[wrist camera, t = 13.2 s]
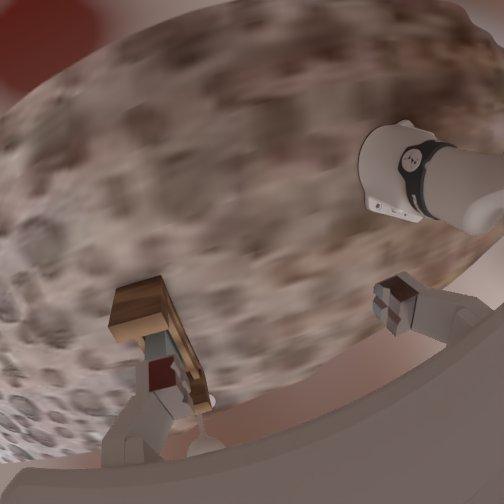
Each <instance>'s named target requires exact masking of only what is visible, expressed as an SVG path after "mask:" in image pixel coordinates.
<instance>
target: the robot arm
mask: <svg viewBox="0 0 504 504" xmlns="http://www.w3.org/2000/svg"><path fill="white" fill-rule="evenodd" d="M359 176H360V180H361V183H362V186H363V188H364V191H365V205H366V208H367V209H368V210H370V211H374V212H378V213H382V214H385V215H389V216H393V217H397V218H401V219H404V220H408V221H411V222H415V223H417V222H419V221H420V220H421V219H422V218H423V217H424V218H427V219H430V220H431V219H435V220H442V221H444V222H446V223H448V224H450V225H451V226H453V227H455V228H457V229H459V230H461V231H463V232H465V233H466V234H469V235H483V234H486V233H487V232H489V231H491V230H492V229H493V228H494V227H495V226H496V225H497V224H498V223H499V221H500V220H501V219H502V217H503V215H504V152H502V153H498V154H484V153H477V152H472V151H467V150H463V149H459V148H457V147H456V146H454V145H453V144H449V143H448V142H445V141H440V140H437V138H436V137H435V135H434V134H433V133H432V132H429V131H425V130H421V129H418V128H415V127H414V125H413V124H412V123H411V122H410V121H409V120H402V121H400V122H398V123H397V124H395V125H385V126H381V127H379V128H377V129H375V130H374V131H373V132H372V133H371V134H370V135H369V136H368V137H367V139H366V140H365V142H364V144H363V146H362V149H361V152H360V156H359ZM376 205H377V207H376ZM374 293H375V295H376V297H375V298H374V300H373V309H374V313H375V315H376V317H377V318H378V319H379V320H380V321H382V322H385V323H387V328H388V329H389V331H390V332H392V334H393V335H394V336H395V337H396V336H398V335H400V334H402V333H404V332H406V331H408V330H410V329H411V330H413V331H415V332H418V333H420V334H423V335H426V336H428V337H430V338H433V339H435V340H438V341H440V342H443V343H446V344H447V345H446V348H444V349H443V350H441V351H440V352H438V353H437V354H435V355H434V356H432V357H431V358H429V359H428V360H426V361H425V362H423V363H421V364H420V365H418V366H417V367H415V368H413V369H412V370H410V371H408V372H407V373H405V374H403V375H402V376H400V377H398V378H396V379H394V380H393V381H391V382H389V383H387V384H386V385H384V386H382V387H380V388H378V389H376V390H374V391H372V392H370V393H368V394H366V395H365V396H362V397H360V398H358V399H356V400H354V401H352V402H350V403H348V404H346V405H344V406H342V407H339V408H337V409H335V410H333V411H330V412H328V413H326V414H323V415H321V416H319V417H317V418H314V419H311V420H309V421H306V422H304V423H301V424H299V425H296V426H293V427H291V428H288V429H285V430H282V431H280V432H277V433H274V434H271V435H268V436H265V437H262V438H258V439H255V440H252V441H249V442H245V443H242V444H239V445H235V446H231V447H227V448H224V449H220V450H216V451H211V452H207V453H203V454H198V455H194V456H189V457H184V458H179V459H173V460H168V461H166V460H165V459H163V458H162V457H161V456H160V452H161V450H162V448H163V445H164V443H165V441H166V438H167V436H168V434H169V431H170V429H171V427H172V424H173V422H174V419H176V418H180V417H184V416H188V415H192V414H195V411H194V405H193V400H192V398H191V396H190V395H189V393H190V392H191V388H190V383H189V380H188V377H187V374H186V372H185V370H184V368H182V367H180V363H179V359H178V357H177V356H176V354H171V355H167V356H163V357H158V358H154V359H150V360H147V361H142V362H138V363H137V365H136V390H135V396H132V397H131V398H130V400H129V401H128V403H127V404H126V406H125V407H124V409H123V410H122V412H121V413H120V415H119V416H118V417H117V419H116V420H115V422H114V423H113V425H112V426H111V428H110V429H109V431H108V432H107V434H106V435H105V437H104V438H103V440H102V454H101V468H93V469H46V468H33V467H28V468H23V469H22V470H20V471H19V472H18V473H17V474H16V476H15V477H14V478H13V479H12V480H11V482H10V483H9V484H8V486H7V487H6V488H5V489H4V491H3V493H2V495H1V498H0V504H504V303H503V304H502V305H500V306H499V307H498V308H497V309H496V310H492V309H491V308H490V307H489V306H487V305H486V304H485V303H483V302H482V301H481V300H479V299H478V298H477V297H473V296H468V295H463V294H459V293H454V292H449V291H444V290H440V289H435V288H430V289H428V288H427V287H426V286H424V285H423V284H422V283H420V282H419V281H418V280H416V279H415V278H414V277H412V276H411V275H410V274H408V273H407V272H404V271H403V272H401V273H398V274H396V275H394V276H392V277H390V278H388V279H385V280H383V281H381V282H379V283H376V284H375V286H374Z"/></svg>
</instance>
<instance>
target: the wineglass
mask: <svg viewBox="0 0 504 504" xmlns="http://www.w3.org/2000/svg"><path fill="white" fill-rule="evenodd" d="M209 397H210V401H211V406H212V408H213V407H214V405H215V403H216V400H215V398H214V397H213V396H212V395H211V394H209ZM203 413H204V412H203ZM196 415H197V419H198V423H199V428H200V437H199V438H197V439H196V440H194V441H193V442H192V443H191V445H190V446H189V448H188V453H187V455H188V457H189V456H194V455H198V454H203V453H207V452H211V451H216V450H220V449H224V448H225V446H224V445H223V444H222V443H221V442H220V441H219V440H217V439H215V438H213V437H209V436H207V435H206V433H205V430H204V426H203V421H202V413H200V414H196Z"/></svg>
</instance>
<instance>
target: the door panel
mask: <svg viewBox="0 0 504 504" xmlns="http://www.w3.org/2000/svg"><path fill="white" fill-rule="evenodd" d="M171 354H176V356H177V357H178V359H179V363H180V367H182V368H184V366H183V359H182V356H181V354H180V352H179V350H178V348H177V346H176V344H175V342H174V340H173V338H172V336H171V334H170V332H169V330H168V329H167V330H164V331H160V332H157V333H153V334H150V335H146V336H145V361H147V360H150V359H154V358H158V357H163V356H167V355H171Z"/></svg>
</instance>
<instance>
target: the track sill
mask: <svg viewBox="0 0 504 504" xmlns="http://www.w3.org/2000/svg"><path fill="white" fill-rule="evenodd" d="M108 328H109V330H110V332H111V333H112V335H113V337H114V338H115V340H116V341H117V343H120V342H124V341H127V340H131V339H135V338H136V340H137V342H138V344H139V345H140V347H141V349H142V350H143V352H144V354H145V336H146V335H150V334H153V333H157V332H160V331H164V330H167V329H168V330H169V332H170V334H171V336H172V338H173V340H174V342H175V344H176V346H177V348H178V350H179V352H180V354H181V356H182V359H183V366H184V370H185V372H186V374H187V377H188V380H189V383H190V388H191V392H190V393H189V395H190V396H191V398H192V400H193V405H194V411H195V414H192V415H196V414H200V413H203V412H207V411H211V410H212V406H211V401H210V397H209V392H208V388H207V383H206V379H205V374H204V371H203V369H202V367H201V365H200V363H199V361H198V358H197V356H196V354H195V352H194V350H193V348H192V346H191V344H190V342H189V339H188V337H187V335H186V333H185V331H184V328H183V326H182V324H181V322H180V319H179V317H178V315H177V312H176V310H175V308H174V306H173V303H172V301H171V298H170V296H169V294H168V291H167V289H166V286H165V284H164V281H163V279H162V276H161V275H160V276H157V277H154V278H150V279H147V280H144V281H141V282H137V283H134V284H131V285H128V286H124V287H121V288H118V289H116V292H115V297H114V301H113V306H112V310H111V315H110V320H109V325H108ZM192 415H188V416H192ZM184 417H187V416H184ZM180 418H183V417H180ZM176 419H179V418H176Z"/></svg>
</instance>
